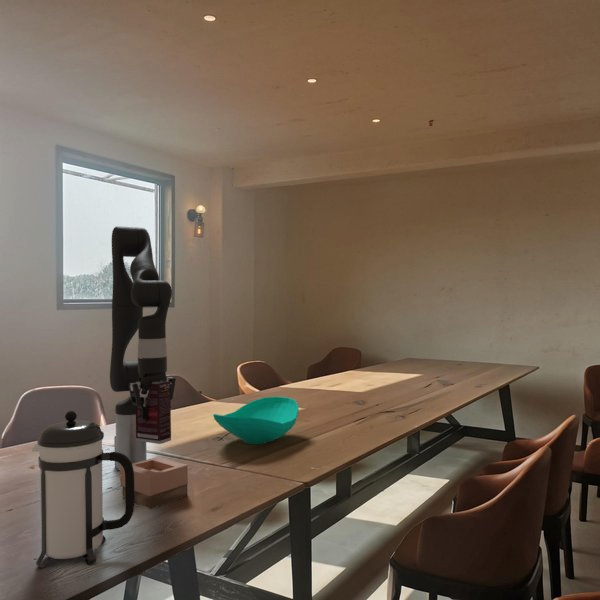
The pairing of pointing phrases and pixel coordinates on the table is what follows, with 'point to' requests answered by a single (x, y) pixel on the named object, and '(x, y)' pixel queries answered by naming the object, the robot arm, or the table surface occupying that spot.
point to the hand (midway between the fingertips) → (153, 418)
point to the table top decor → (261, 419)
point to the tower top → (157, 475)
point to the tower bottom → (158, 497)
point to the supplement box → (156, 415)
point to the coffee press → (76, 490)
